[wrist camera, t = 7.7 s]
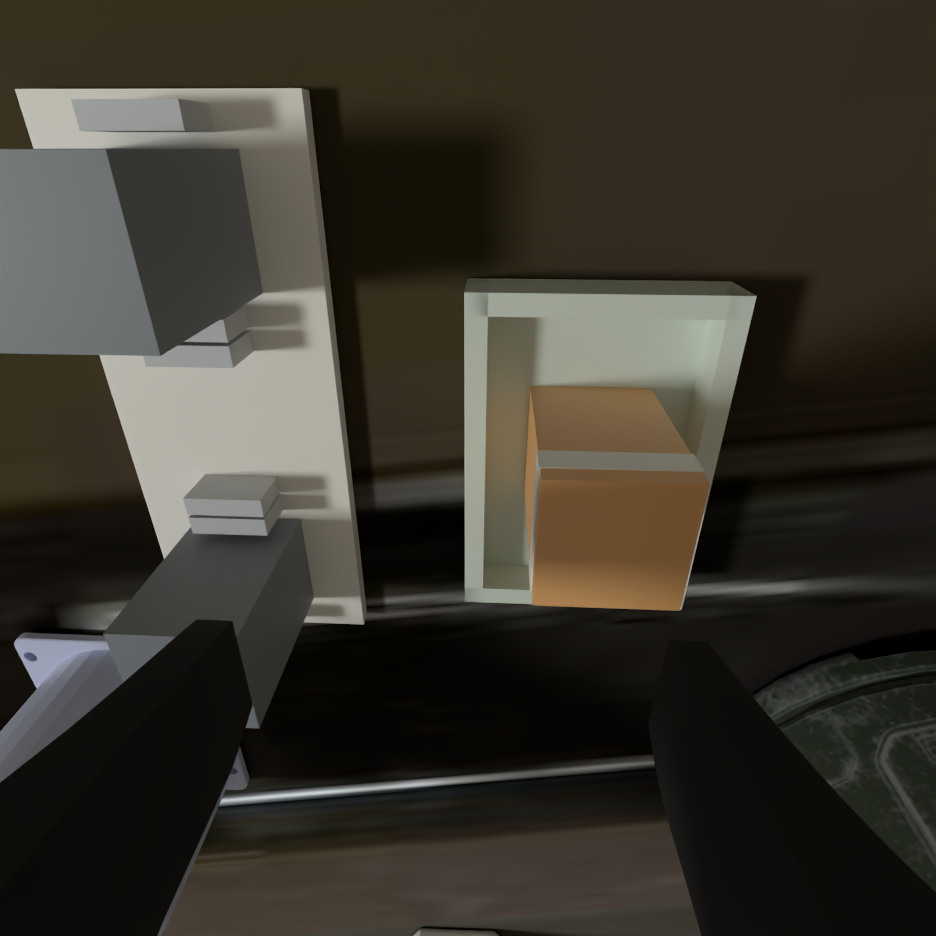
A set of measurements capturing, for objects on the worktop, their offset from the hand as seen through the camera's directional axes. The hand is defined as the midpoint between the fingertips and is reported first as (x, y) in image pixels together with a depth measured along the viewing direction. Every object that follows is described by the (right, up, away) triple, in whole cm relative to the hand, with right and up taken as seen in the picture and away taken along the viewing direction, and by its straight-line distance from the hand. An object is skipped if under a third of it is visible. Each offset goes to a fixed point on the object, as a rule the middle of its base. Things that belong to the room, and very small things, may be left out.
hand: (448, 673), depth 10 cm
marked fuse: (+4, +4, +8) cm, 10 cm away
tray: (+4, +4, +9) cm, 10 cm away
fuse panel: (-7, +5, +9) cm, 12 cm away
